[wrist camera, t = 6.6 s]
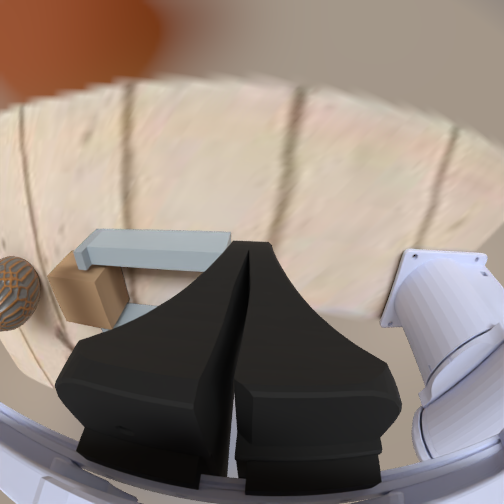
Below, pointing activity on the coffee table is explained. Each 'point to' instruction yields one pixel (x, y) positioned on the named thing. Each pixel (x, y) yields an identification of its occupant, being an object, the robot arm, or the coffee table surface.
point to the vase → (17, 292)
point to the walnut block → (89, 292)
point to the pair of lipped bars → (150, 254)
